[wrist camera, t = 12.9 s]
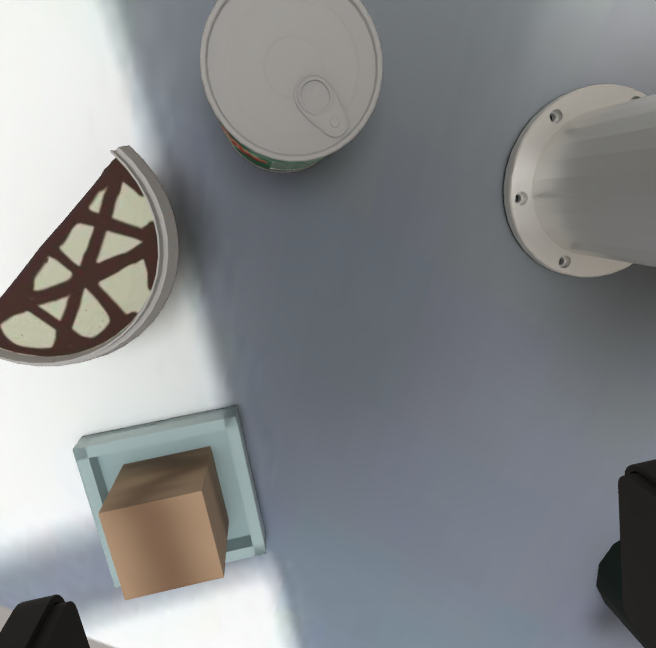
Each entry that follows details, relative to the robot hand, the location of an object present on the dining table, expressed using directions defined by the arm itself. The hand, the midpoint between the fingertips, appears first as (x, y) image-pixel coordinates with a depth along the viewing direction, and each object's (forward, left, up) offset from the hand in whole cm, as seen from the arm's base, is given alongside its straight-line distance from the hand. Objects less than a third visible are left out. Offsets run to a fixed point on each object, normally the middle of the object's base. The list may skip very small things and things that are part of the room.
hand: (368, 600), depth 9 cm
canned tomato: (-2, -12, -28) cm, 31 cm away
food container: (+9, -4, -28) cm, 30 cm away
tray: (+10, +12, -28) cm, 32 cm away
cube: (+10, +12, -28) cm, 32 cm away
